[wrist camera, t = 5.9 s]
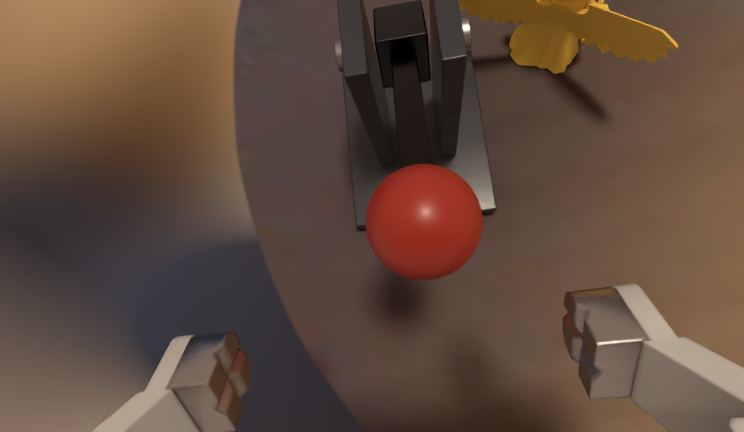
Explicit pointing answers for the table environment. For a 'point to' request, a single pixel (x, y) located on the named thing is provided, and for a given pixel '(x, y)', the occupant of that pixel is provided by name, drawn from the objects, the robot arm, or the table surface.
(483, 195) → the switch bracket
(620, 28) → the figurine
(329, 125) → the table surface
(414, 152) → the switch lever
